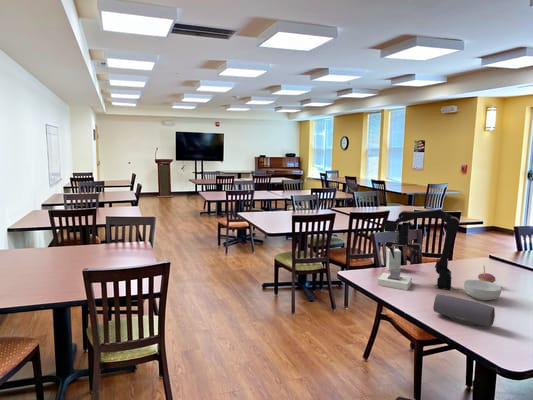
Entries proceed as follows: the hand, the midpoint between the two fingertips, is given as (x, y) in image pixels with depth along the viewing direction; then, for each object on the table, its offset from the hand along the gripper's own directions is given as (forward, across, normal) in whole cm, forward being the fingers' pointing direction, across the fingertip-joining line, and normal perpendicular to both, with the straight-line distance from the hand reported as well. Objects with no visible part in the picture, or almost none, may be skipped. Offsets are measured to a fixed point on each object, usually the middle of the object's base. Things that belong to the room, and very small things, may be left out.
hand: (402, 259), depth 222 cm
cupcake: (+14, -43, -16) cm, 48 cm away
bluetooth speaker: (+13, -32, +44) cm, 56 cm away
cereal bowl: (+14, -40, +7) cm, 43 cm away
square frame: (+13, +3, +7) cm, 15 cm away
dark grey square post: (+13, +3, +7) cm, 15 cm away
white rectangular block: (+13, +9, -24) cm, 28 cm away
